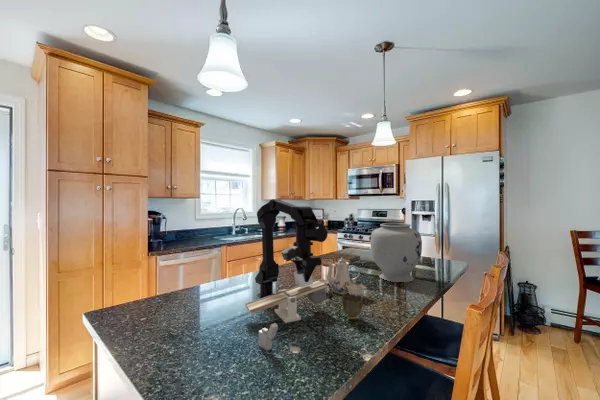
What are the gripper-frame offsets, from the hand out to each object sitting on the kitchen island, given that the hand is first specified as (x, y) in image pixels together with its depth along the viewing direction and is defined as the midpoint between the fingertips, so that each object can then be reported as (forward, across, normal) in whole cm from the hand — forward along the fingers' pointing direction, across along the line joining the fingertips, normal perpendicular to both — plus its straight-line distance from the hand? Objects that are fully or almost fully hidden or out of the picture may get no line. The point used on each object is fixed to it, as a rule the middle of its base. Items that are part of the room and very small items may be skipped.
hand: (303, 280), depth 110 cm
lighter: (+13, +20, -21) cm, 31 cm away
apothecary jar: (+12, -22, +66) cm, 71 cm away
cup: (+12, +13, +13) cm, 22 cm away
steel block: (+2, 0, 0) cm, 2 cm away
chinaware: (+13, -14, +25) cm, 31 cm away
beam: (+10, 0, -6) cm, 12 cm away
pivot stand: (+12, 0, -7) cm, 14 cm away
